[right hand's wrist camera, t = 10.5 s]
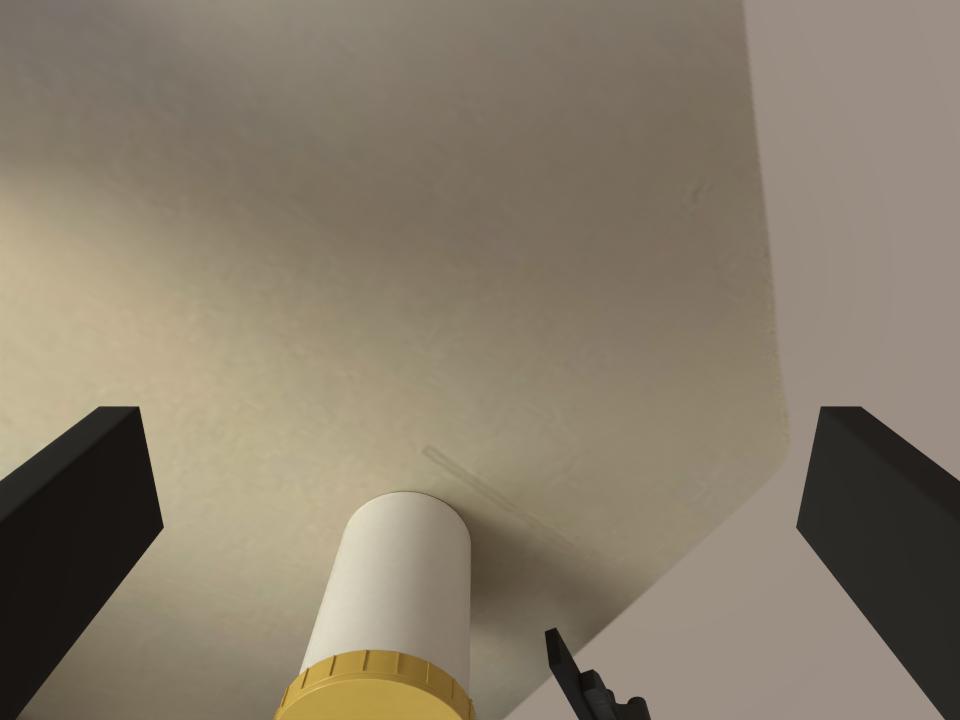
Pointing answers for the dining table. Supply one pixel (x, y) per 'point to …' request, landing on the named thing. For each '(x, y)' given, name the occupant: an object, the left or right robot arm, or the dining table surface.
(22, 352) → the dining table surface
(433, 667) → the lid
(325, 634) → the jar
